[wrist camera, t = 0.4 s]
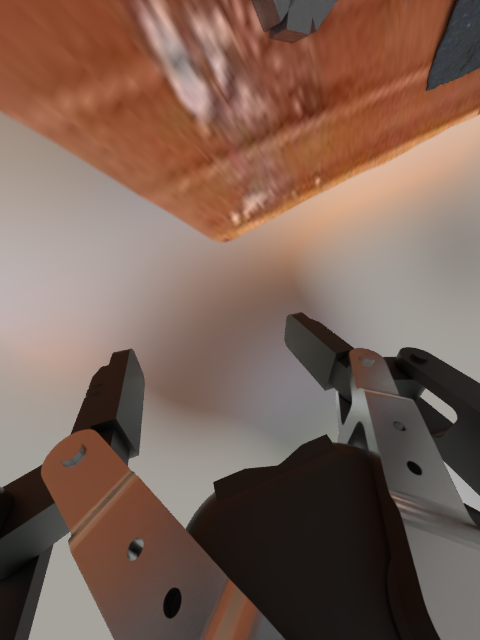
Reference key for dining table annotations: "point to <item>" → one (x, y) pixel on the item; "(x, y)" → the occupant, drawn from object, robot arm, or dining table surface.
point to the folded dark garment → (458, 45)
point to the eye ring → (291, 17)
